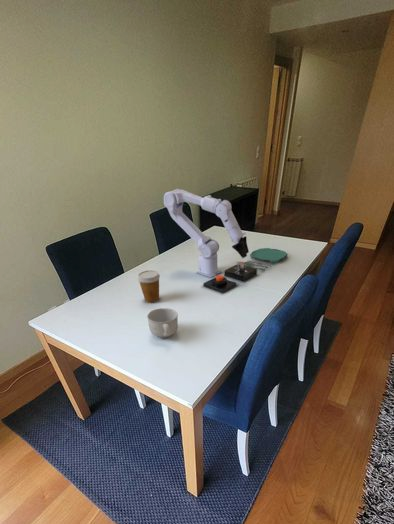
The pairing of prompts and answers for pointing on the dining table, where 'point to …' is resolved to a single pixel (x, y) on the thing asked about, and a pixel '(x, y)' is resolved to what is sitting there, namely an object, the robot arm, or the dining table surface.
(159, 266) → the dining table surface
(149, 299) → the disposable coffee cup
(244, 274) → the dial panel
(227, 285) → the button housing
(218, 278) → the button
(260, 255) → the green plate with cutlery
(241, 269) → the oven dial
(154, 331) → the teacup
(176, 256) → the dining table surface
